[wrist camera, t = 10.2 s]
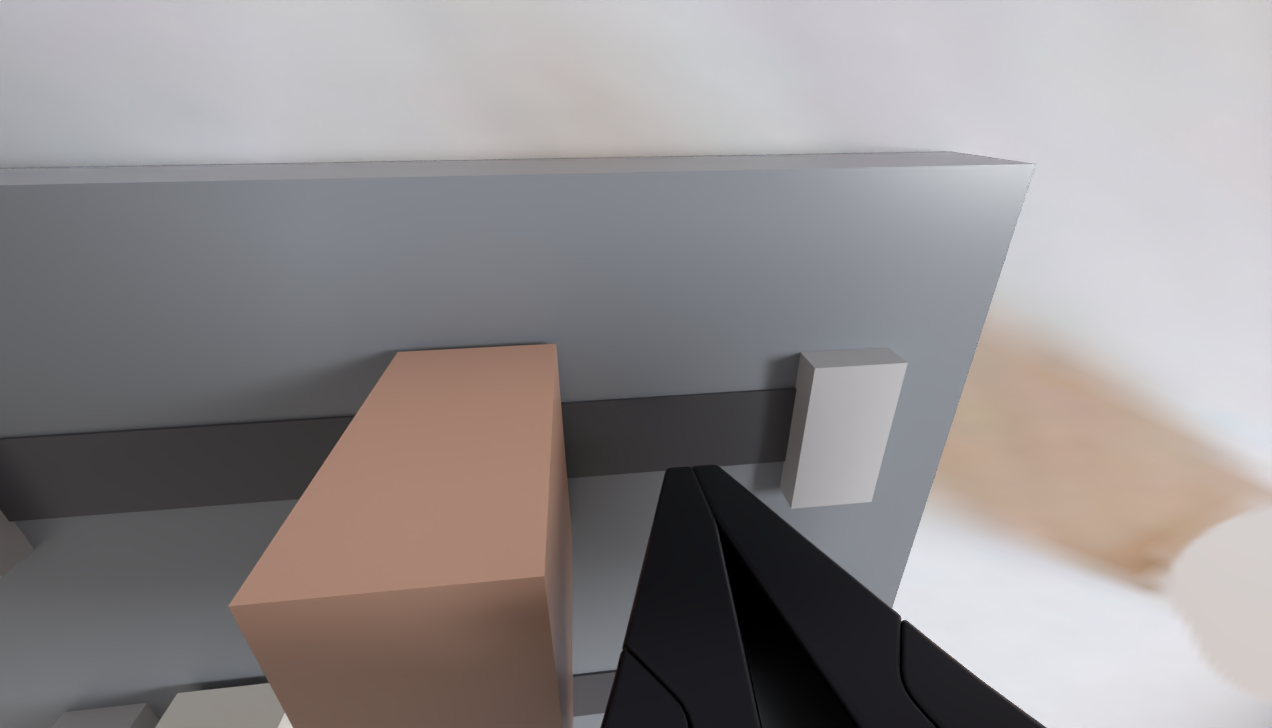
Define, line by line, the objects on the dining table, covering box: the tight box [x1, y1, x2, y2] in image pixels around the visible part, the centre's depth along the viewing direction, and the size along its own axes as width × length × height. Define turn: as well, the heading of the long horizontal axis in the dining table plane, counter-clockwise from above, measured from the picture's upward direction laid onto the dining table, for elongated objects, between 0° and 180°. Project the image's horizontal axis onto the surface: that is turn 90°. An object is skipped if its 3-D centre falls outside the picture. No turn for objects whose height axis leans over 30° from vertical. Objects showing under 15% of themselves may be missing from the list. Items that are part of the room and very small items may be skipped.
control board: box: [0, 152, 1036, 728], centre depth 13 cm, size 20×24×3 cm
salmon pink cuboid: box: [228, 344, 573, 728], centre depth 7 cm, size 2×4×4 cm, turn 0°
